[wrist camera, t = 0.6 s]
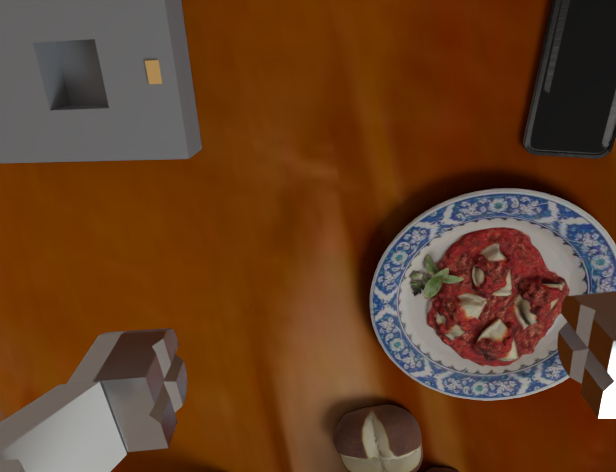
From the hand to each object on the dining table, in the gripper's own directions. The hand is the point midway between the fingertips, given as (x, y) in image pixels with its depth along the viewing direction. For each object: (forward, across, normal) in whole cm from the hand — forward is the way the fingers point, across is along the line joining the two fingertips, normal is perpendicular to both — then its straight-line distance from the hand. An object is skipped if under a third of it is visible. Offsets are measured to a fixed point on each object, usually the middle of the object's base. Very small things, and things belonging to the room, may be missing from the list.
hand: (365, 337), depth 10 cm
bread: (+38, -2, +45) cm, 58 cm away
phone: (+38, -23, +2) cm, 44 cm away
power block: (+42, +23, -3) cm, 48 cm away
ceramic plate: (+37, -16, +24) cm, 47 cm away
